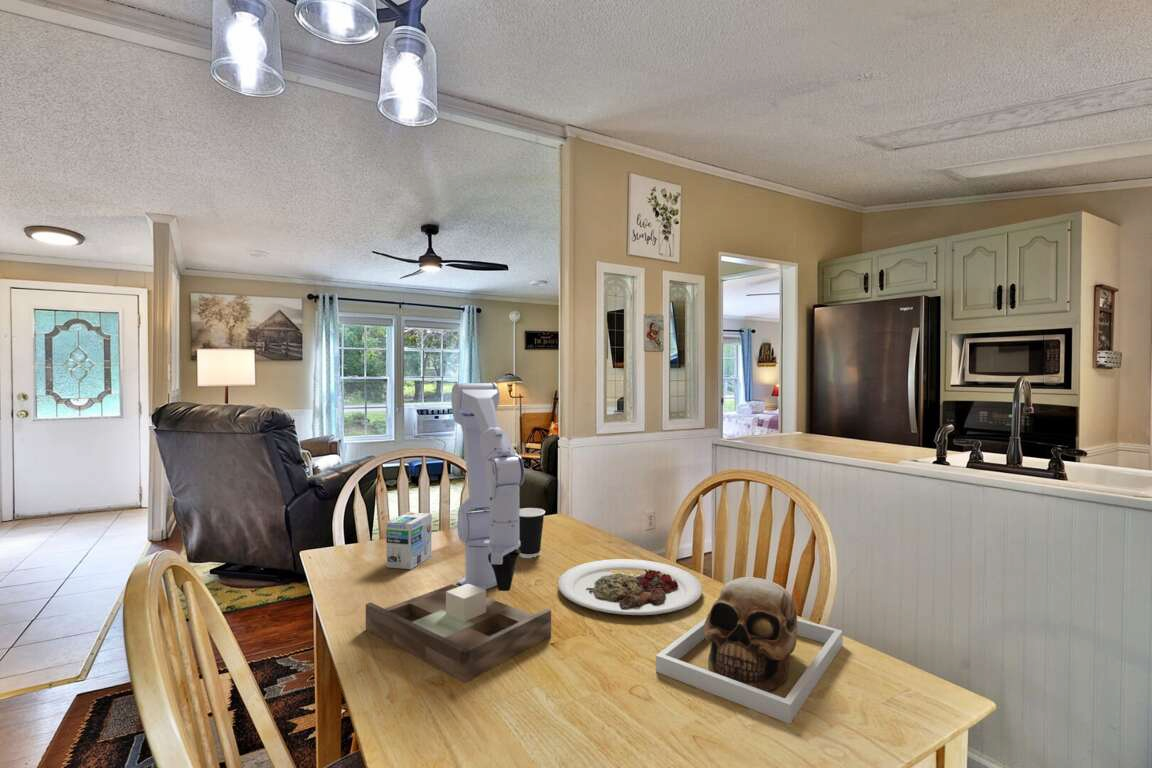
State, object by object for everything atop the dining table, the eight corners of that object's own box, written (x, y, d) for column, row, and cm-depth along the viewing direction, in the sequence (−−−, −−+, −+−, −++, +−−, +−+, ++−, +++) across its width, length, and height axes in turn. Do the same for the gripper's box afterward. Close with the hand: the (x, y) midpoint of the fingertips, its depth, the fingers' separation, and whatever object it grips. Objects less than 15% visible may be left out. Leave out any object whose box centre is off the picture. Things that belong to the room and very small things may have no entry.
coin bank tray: (728, 612, 105) (728, 599, 105) (842, 645, 92) (842, 630, 92) (655, 671, 84) (656, 655, 84) (790, 724, 71) (790, 704, 71)
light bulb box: (411, 570, 127) (411, 523, 127) (385, 568, 129) (385, 522, 128) (432, 555, 138) (432, 512, 138) (407, 553, 139) (407, 511, 139)
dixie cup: (507, 554, 139) (507, 510, 139) (534, 548, 144) (534, 506, 144) (524, 562, 133) (524, 517, 133) (551, 556, 138) (551, 512, 137)
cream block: (467, 604, 102) (467, 583, 102) (486, 612, 99) (486, 590, 99) (445, 613, 98) (445, 591, 98) (464, 621, 95) (464, 598, 95)
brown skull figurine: (721, 698, 76) (722, 596, 78) (686, 649, 94) (687, 567, 95) (832, 698, 78) (831, 598, 79) (777, 650, 95) (777, 568, 97)
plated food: (528, 592, 115) (528, 576, 115) (617, 558, 137) (617, 544, 137) (645, 639, 95) (645, 619, 95) (728, 590, 117) (728, 574, 117)
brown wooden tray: (451, 596, 112) (451, 574, 112) (551, 635, 95) (551, 610, 95) (365, 629, 97) (365, 604, 97) (464, 683, 80) (464, 652, 80)
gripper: (492, 509, 113) (492, 575, 113) (474, 528, 99) (474, 604, 99) (526, 510, 113) (526, 576, 113) (513, 529, 98) (513, 605, 98)
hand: (504, 589), depth 106 cm, fingers closed
